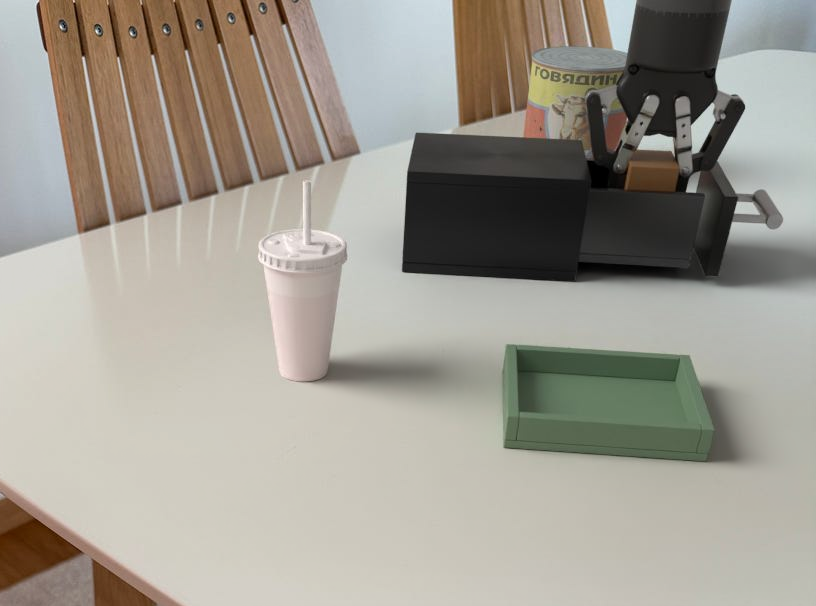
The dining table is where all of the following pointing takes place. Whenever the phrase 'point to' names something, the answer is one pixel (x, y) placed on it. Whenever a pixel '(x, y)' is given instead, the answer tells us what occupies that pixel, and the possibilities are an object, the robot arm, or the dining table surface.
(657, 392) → the tray
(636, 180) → the block
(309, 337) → the smoothie
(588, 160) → the pull-out drawer box
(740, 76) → the dining table surface
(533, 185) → the black box
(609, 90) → the robot arm
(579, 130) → the canned food
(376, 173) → the dining table surface
